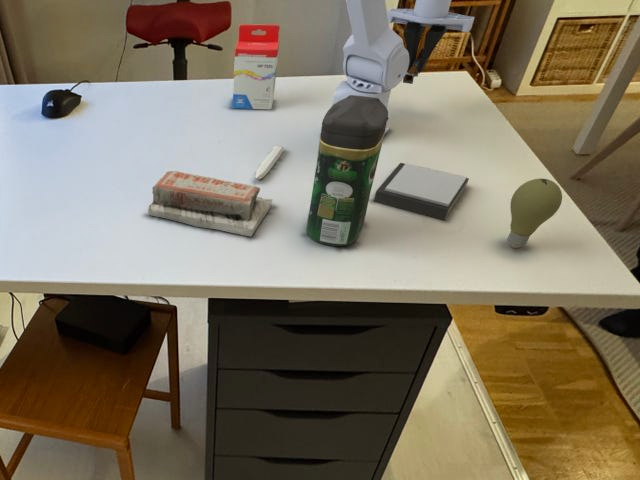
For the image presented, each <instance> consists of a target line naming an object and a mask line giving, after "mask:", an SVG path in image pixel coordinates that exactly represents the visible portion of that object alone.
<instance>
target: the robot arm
mask: <svg viewBox="0 0 640 480" xmlns="http://www.w3.org/2000/svg"><path fill="white" fill-rule="evenodd" d="M414 3H415V4H414V7H413V8H394V7H391V8H390V9H388V10H387V2H386V0H345V4H346V9H347V14H348V17H349V24H350V28H351V33H352V34H350V36H349V37H348V39H347V40H346V41H345V44H344V46H343V47H342V51H343V63H342V69H343V73H344V76H345V77H347V78H346V80H341V81H340V82H339V84H338V85H337V87H336V89H335V92H334V94H333V98H332V103H331V107H332V106H333V105H334V104H335V103H337V102H338V101H340V100H342V99H345V98H347V97H348V96H349V95H356V96H365V97H373V98H378V99H379V100H380V101H381V102H382V103H383V104H384V105H385V107H386V108H387V109H388V105H389V102H390V97H391V92H392V90H393V89H395V88H396V87H397V86H398V85H400V83H401V82H403V78H404V76H405V74H406V73H408V72H409V71H410V69H411V68H412V65H413V63H414V61H415V59H416V58H417V57H418V50H419V47H420V44H421V40H422V37H423V34H424V31H425V29H426V27H429V29H428V30H427V31H426V32H425V37H424V42H423V47H422V48H423V53H422V56H421V59H420V62H419V65H418V70H417V72H420V73H422V72H423V71H424V70H425V68H426V65H427V63H428V61H429V59H430V57H431V55H432V53H433V52H434V50H435V48H436V47H437V46H438V44H439V42H440V41H441V39H442V38H443V37H444V35H445V34H446V33H447V32H448V30H453V31H454V30H455V31H461V32H462V33H469V32H470V31H471V30H472V28H473V24H474V21H475V16H470V15H464V14H459V13H455V12H450V11H449V10H450V7H451V3H452V0H415V2H414ZM392 23H394V24H403V25H406V26H405V28H404V29H403V37H404V40H403V38H402V37H401V36H400V35H399V34H398V33H396V32H395V31H394V30H393V29H392V28H391V27H390V24H392ZM404 41H405V45H404ZM389 130H390V129H389V127H387V126H386V129H385V133H384V135H386V133H388V131H389Z"/></svg>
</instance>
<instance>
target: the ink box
mask: <svg viewBox="0 0 640 480" xmlns="http://www.w3.org/2000/svg"><path fill="white" fill-rule="evenodd" d="M280 28H281V27H280V25H279V24H260V23H259V24H257V23H256V24H252V23H251V24H239V25H238V41H237V42H236V45H235V49H234V66H233V67H234V69H233V84H232V85H233V87H232V109H245V110H246V109H247V110H268V111H269V110H271V111H272V109H273V104H274V98H275V91H276V90H275V88H276V79H277V69H278V59H279V58H278V57H279V50H280V49H279V48H280V41H279V35H280ZM258 30H259V31H261V32H265V34H255V33H254V34H253V33H252V32H257V31H258Z"/></svg>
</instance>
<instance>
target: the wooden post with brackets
mask: <svg viewBox="0 0 640 480" xmlns="http://www.w3.org/2000/svg"><path fill="white" fill-rule="evenodd" d="M423 48H424V47H421V48H420V51H419V52H418V54H417V56H416V59H415V61H414V63H413V65H412V68H411V69H410V71H409V70H408V71H407V72H406V74H405V76H404V78H403V79H402V83H403V84H409V85H413V83H414V79H415V78H416V77H417V78H418V77H419V74H420V73H421V72H417V70H418V65H419V62H420V59H421V56H422V53H423Z"/></svg>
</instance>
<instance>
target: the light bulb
mask: <svg viewBox="0 0 640 480" xmlns="http://www.w3.org/2000/svg"><path fill="white" fill-rule="evenodd" d="M562 202H563V193H562V190H561V188H560V186H559V185H558V184H557V183H556V182H554V181H553V180H551V179H548V178H543V177H542V178H534V179H531V180H528V181H526V182H524V183H522V184H521V185H520V186H519V187H518V188H517V189H516V190H515V191H514V193H513V194H512V196H511V199H510V205H509V206H510V207H509V208H510V215H511V216H510V217H511V219H510V220H511V221H510V232H509V234H508V236H507V238H506V242H507V244H508V245H509V247H511V248H512V249H519V248H524V247H525V246H526V245H527V243H528V241H529V239H530V237H531V236H532V235H533V234H534V233H535V232H536V231H537V229H538V228H540V226H542V225H543V224H544V223H545V222H547V221H548V220H550V219H551V218H552V217H553V216H554V215H555V214H556V213H557V212H558V211H559V209H560V207H561V205H562Z"/></svg>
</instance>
